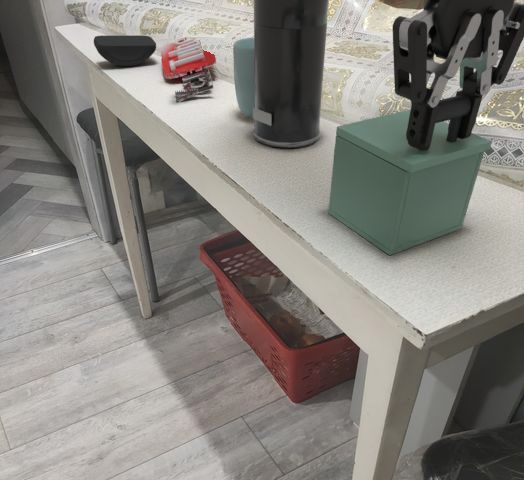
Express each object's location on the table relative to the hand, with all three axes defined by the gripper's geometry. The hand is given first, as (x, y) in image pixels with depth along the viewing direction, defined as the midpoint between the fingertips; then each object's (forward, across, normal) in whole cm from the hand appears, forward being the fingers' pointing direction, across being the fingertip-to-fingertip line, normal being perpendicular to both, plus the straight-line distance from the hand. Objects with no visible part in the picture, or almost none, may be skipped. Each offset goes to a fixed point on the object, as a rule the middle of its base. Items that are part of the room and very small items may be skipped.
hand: (438, 140), depth 48 cm
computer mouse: (+5, -2, +78) cm, 79 cm away
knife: (+9, +2, +64) cm, 64 cm away
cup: (+10, +5, +39) cm, 41 cm away
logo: (+6, +8, +61) cm, 61 cm away
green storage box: (+10, 0, +4) cm, 11 cm away
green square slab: (+1, 0, +3) cm, 4 cm away
